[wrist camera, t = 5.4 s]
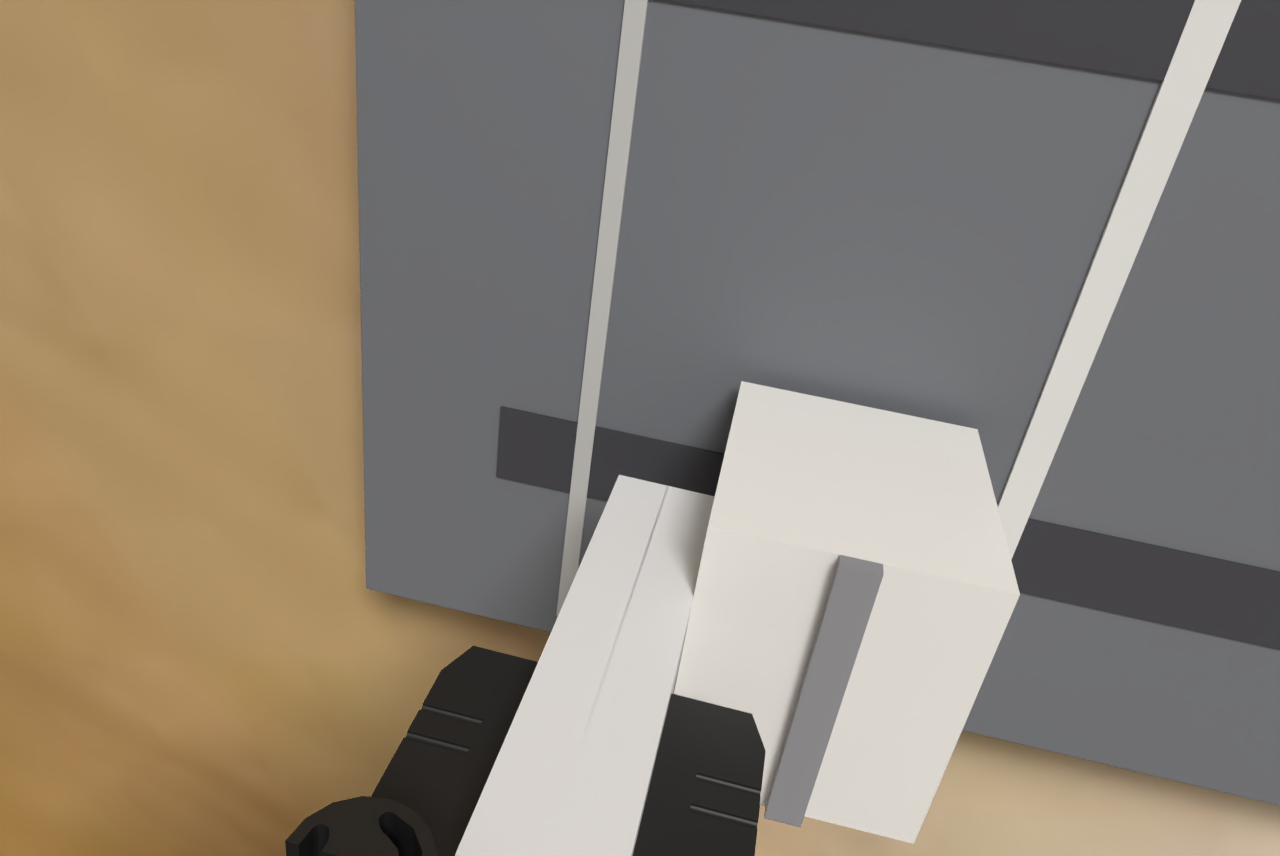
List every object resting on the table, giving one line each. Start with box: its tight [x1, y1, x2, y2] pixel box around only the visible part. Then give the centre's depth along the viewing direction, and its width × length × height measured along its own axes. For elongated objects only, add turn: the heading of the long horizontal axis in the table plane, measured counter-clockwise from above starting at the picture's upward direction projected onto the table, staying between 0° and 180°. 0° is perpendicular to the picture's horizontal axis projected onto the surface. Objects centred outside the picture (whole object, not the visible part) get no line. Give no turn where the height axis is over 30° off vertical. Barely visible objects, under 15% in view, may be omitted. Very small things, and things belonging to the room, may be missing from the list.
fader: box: [674, 381, 1020, 844], centre depth 13 cm, size 4×4×4 cm
